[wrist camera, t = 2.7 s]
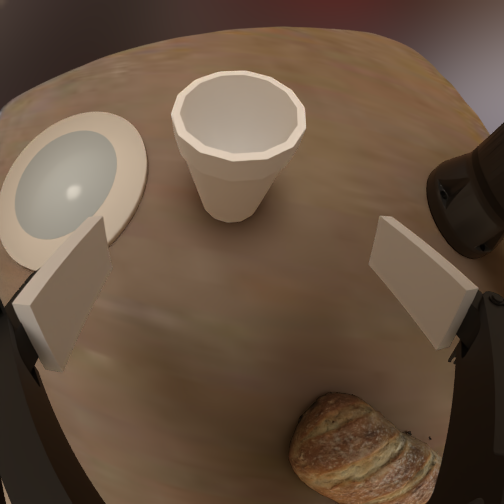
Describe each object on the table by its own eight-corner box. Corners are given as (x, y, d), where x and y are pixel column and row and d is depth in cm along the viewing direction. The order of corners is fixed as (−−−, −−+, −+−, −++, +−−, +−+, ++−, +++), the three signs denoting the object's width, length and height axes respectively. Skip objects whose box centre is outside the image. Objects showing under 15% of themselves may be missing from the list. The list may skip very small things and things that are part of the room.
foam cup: (271, 241, 29) (308, 171, 17) (180, 232, 29) (158, 156, 16) (274, 164, 32) (302, 79, 20) (194, 156, 32) (188, 67, 19)
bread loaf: (211, 476, 23) (209, 528, 13) (308, 344, 27) (348, 353, 18) (413, 530, 21) (445, 555, 12) (477, 440, 25) (518, 451, 16)
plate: (102, 96, 34) (100, 90, 32) (185, 186, 30) (184, 180, 29) (-10, 188, 27) (-15, 184, 26) (36, 313, 24) (30, 312, 23)
